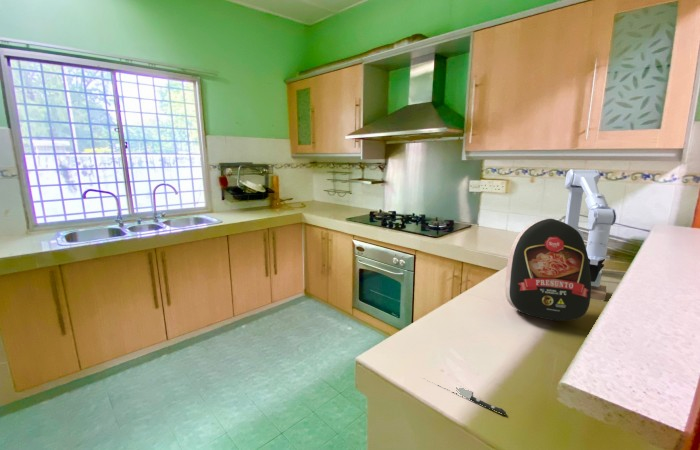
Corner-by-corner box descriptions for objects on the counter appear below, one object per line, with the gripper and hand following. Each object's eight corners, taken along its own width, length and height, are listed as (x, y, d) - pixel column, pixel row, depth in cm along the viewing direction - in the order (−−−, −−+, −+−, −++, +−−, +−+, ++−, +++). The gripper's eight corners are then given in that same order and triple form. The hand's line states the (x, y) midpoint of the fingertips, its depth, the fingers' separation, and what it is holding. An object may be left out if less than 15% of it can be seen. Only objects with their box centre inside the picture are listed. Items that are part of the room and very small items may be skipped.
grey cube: (581, 283, 114) (584, 270, 113) (582, 279, 117) (584, 266, 116) (599, 287, 110) (601, 273, 109) (599, 282, 114) (602, 269, 113)
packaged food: (509, 323, 94) (520, 225, 88) (497, 296, 113) (506, 213, 106) (595, 334, 88) (613, 229, 82) (568, 303, 107) (581, 216, 101)
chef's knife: (421, 370, 74) (415, 376, 72) (421, 366, 74) (415, 371, 72) (509, 409, 62) (505, 418, 60) (510, 404, 62) (506, 413, 60)
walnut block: (572, 295, 114) (574, 287, 114) (574, 287, 121) (576, 280, 120) (604, 302, 109) (606, 294, 108) (604, 293, 116) (606, 286, 115)
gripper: (612, 248, 103) (605, 287, 106) (612, 240, 114) (606, 275, 117) (585, 245, 107) (579, 282, 110) (588, 237, 118) (582, 271, 121)
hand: (591, 278), depth 114 cm, fingers closed on grey cube, 5 cm apart
